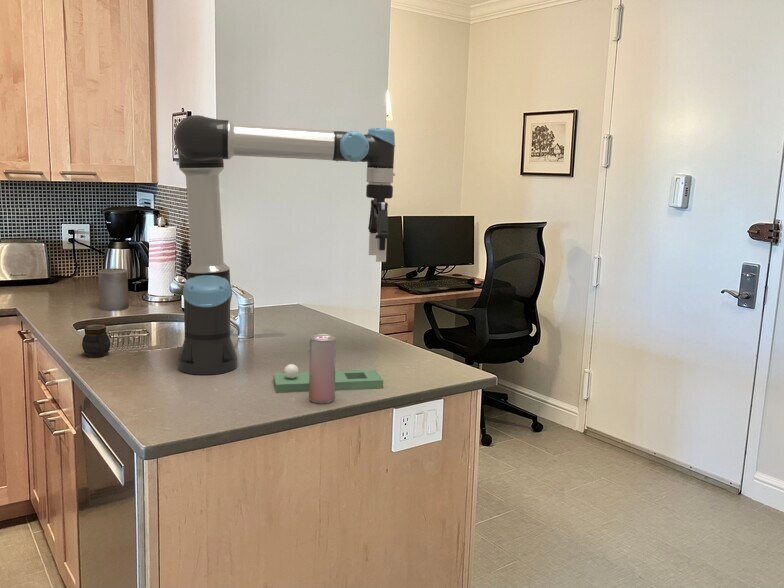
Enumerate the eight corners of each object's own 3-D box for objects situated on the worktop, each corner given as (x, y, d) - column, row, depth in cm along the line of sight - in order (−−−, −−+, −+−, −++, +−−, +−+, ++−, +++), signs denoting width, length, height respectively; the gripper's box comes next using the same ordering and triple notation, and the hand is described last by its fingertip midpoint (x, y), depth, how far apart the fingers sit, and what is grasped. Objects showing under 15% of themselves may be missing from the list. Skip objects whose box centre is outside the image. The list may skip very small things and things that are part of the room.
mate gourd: (115, 355, 192) (114, 320, 190) (88, 360, 187) (86, 324, 185) (104, 349, 197) (102, 315, 195) (76, 355, 192) (74, 319, 190)
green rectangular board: (276, 392, 166) (276, 384, 166) (273, 381, 175) (273, 373, 174) (382, 388, 172) (383, 380, 172) (375, 377, 181) (375, 369, 180)
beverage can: (309, 395, 165) (310, 333, 162) (334, 395, 165) (335, 334, 163) (308, 404, 159) (309, 340, 156) (334, 404, 159) (336, 340, 157)
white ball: (284, 380, 169) (284, 366, 168) (283, 376, 172) (283, 362, 171) (299, 380, 170) (299, 366, 169) (297, 375, 173) (297, 362, 172)
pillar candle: (118, 304, 258) (116, 263, 255) (134, 307, 252) (132, 266, 249) (94, 308, 250) (91, 266, 247) (110, 312, 245) (107, 269, 242)
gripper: (401, 186, 187) (398, 264, 191) (385, 182, 211) (382, 252, 215) (373, 185, 186) (370, 264, 189) (360, 182, 210) (358, 252, 214)
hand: (377, 258), depth 202 cm, fingers open, 13 cm apart
